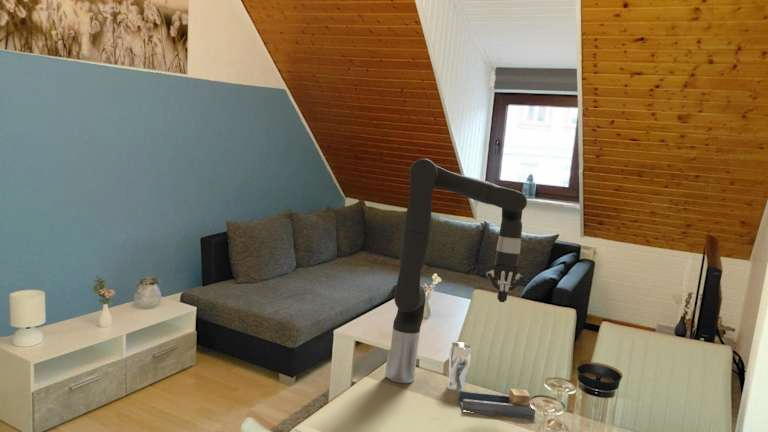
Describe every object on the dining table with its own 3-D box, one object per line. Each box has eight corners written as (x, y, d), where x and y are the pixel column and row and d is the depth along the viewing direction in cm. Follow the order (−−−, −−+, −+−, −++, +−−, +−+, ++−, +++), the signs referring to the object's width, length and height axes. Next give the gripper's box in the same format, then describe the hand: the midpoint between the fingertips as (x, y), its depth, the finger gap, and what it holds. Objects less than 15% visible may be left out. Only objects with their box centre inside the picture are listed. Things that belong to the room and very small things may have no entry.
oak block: (512, 410, 167) (514, 394, 166) (508, 403, 172) (510, 388, 171) (528, 412, 167) (530, 396, 167) (523, 405, 172) (525, 390, 172)
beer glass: (442, 388, 182) (447, 344, 181) (449, 382, 188) (455, 340, 187) (462, 394, 179) (467, 349, 178) (469, 388, 185) (474, 345, 184)
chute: (462, 412, 164) (464, 401, 164) (458, 400, 173) (459, 389, 173) (534, 419, 165) (535, 408, 165) (526, 407, 174) (527, 396, 174)
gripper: (491, 249, 177) (484, 302, 178) (531, 254, 177) (524, 306, 178) (486, 247, 184) (479, 297, 185) (524, 251, 185) (518, 301, 186)
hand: (501, 301), depth 182 cm, fingers closed
